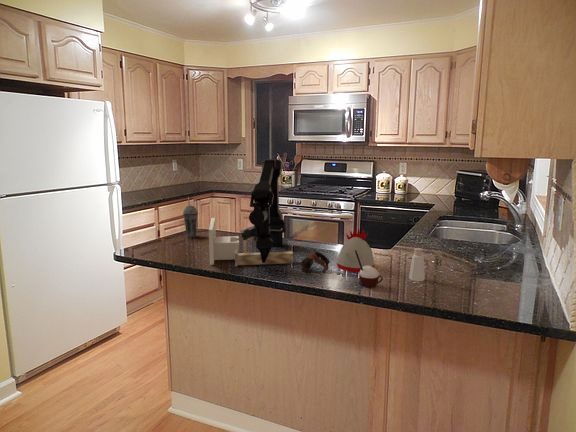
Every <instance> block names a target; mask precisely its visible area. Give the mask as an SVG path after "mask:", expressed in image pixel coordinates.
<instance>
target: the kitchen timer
mask: <svg viewBox="0 0 576 432" xmlns="http://www.w3.org/2000/svg"><path fill="white" fill-rule="evenodd" d="M349 234H350V235H349ZM349 234H348V233H345V235H346V238H347V240H346V241H345V242H344V243H343V245H342V247H341V248H340V250H339V253H338V257H337V261H336V263H337V264H336V266H337V268H338V269H339V270H341V271H346V272H350V273H351V272H352V273H360V270H361V268H360V265H359V262H358V259H357V256H356V253H355V250H356V251H357V253H358V256H359V259H360V262H361V265H362V267H363V266H371V267H373V268H375V260H374V255H373V252H372V248H371V247H370V245H369V244H368V242H367V241H366V238H367V236H368V235H369V232H367V233H366V234H365V229H362V231H361V232H360V228H358V229H357V231H356V228H353V232H352V230H349Z"/></svg>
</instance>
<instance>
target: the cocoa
mask: <svg viewBox="0 0 576 432" xmlns="http://www.w3.org/2000/svg"><path fill="white" fill-rule="evenodd" d="M355 253H356V256H357V259H358V262H359V265H360V268H361V270H360V272H359V282H360V284H361V285H362V286H363V287H365V288H374V287H375V286H376V285H378V284H380V283H382V281H383V275H379V274H380V272H379V271H378V270H377V268H375V267H374V268H373V267H371V266H363V267H362V265H361V262H360V259H359V256H358V253H357V251H356V250H355ZM379 278H380V279H379Z"/></svg>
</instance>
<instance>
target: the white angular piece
mask: <svg viewBox="0 0 576 432" xmlns="http://www.w3.org/2000/svg"><path fill="white" fill-rule="evenodd" d="M239 239H240V237H239V235H238V236H237V235H235V236H231V235H229V236H216V217H211V220H210V223H209V227H208V245H209V249H208V250H209V265H210V266H213V265H215V261H224V260H225V261H226V260H235V250H237V253H240V240H239Z"/></svg>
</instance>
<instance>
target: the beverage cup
mask: <svg viewBox="0 0 576 432" xmlns="http://www.w3.org/2000/svg"><path fill="white" fill-rule="evenodd" d="M187 202H188V205H186V207H184V209H183V212H182V214H183V215H182V216H183V219H184V226H185V227H184V228H185V233H186V238H196V237H197V227H198V225H197V224H198V215H199V212H198V209H197V208H196V207H195V206H194V205H191V204H190V197H189V196H188V197H187Z"/></svg>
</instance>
